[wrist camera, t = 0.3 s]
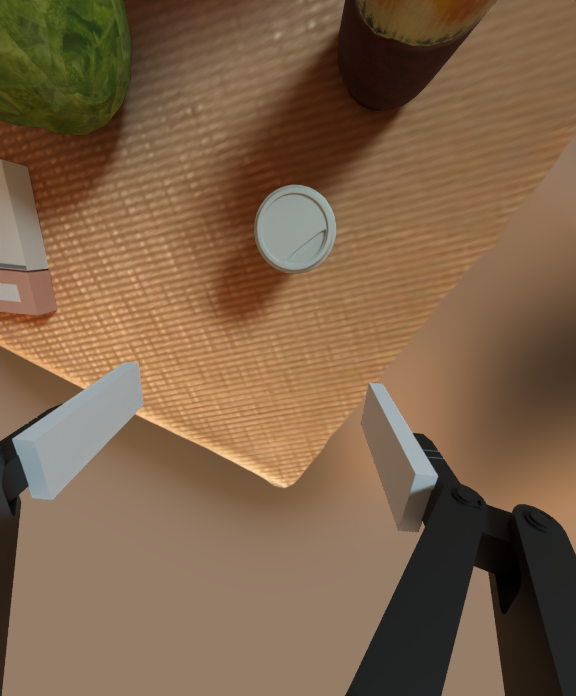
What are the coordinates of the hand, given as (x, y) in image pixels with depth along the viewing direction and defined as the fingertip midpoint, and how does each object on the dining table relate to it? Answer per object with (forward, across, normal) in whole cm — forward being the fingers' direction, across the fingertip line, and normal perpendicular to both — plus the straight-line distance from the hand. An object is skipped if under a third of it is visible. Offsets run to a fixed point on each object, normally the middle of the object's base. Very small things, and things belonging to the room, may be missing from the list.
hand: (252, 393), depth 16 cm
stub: (+28, -40, -1) cm, 48 cm away
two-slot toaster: (+27, -40, +9) cm, 49 cm away
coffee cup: (+28, +1, +9) cm, 29 cm away
